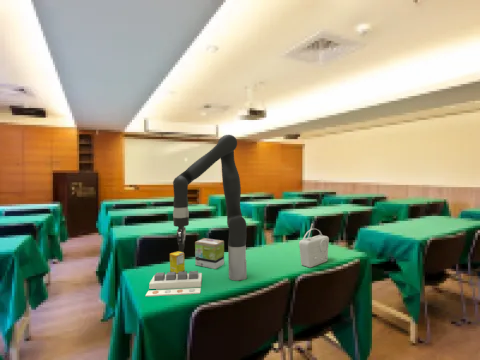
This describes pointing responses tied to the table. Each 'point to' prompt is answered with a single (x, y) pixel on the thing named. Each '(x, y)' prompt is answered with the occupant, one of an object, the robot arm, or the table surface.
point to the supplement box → (177, 262)
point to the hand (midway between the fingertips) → (181, 249)
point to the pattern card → (173, 292)
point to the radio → (313, 249)
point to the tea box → (209, 253)
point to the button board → (176, 283)
